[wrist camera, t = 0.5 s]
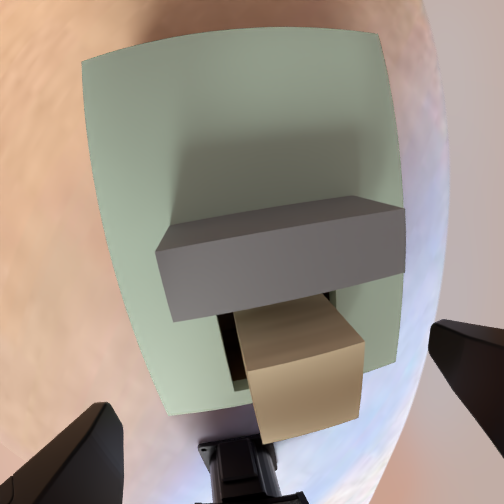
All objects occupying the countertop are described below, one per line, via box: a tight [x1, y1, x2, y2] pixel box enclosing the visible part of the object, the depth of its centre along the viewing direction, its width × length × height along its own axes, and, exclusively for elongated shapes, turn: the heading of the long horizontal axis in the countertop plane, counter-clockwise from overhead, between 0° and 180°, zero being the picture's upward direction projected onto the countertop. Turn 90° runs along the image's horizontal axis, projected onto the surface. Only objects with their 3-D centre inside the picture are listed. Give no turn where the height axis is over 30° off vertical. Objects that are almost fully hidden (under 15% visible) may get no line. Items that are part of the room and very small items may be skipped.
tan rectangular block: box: [233, 293, 365, 444], centre depth 12 cm, size 4×4×7 cm
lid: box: [82, 27, 406, 416], centre depth 10 cm, size 16×12×4 cm
